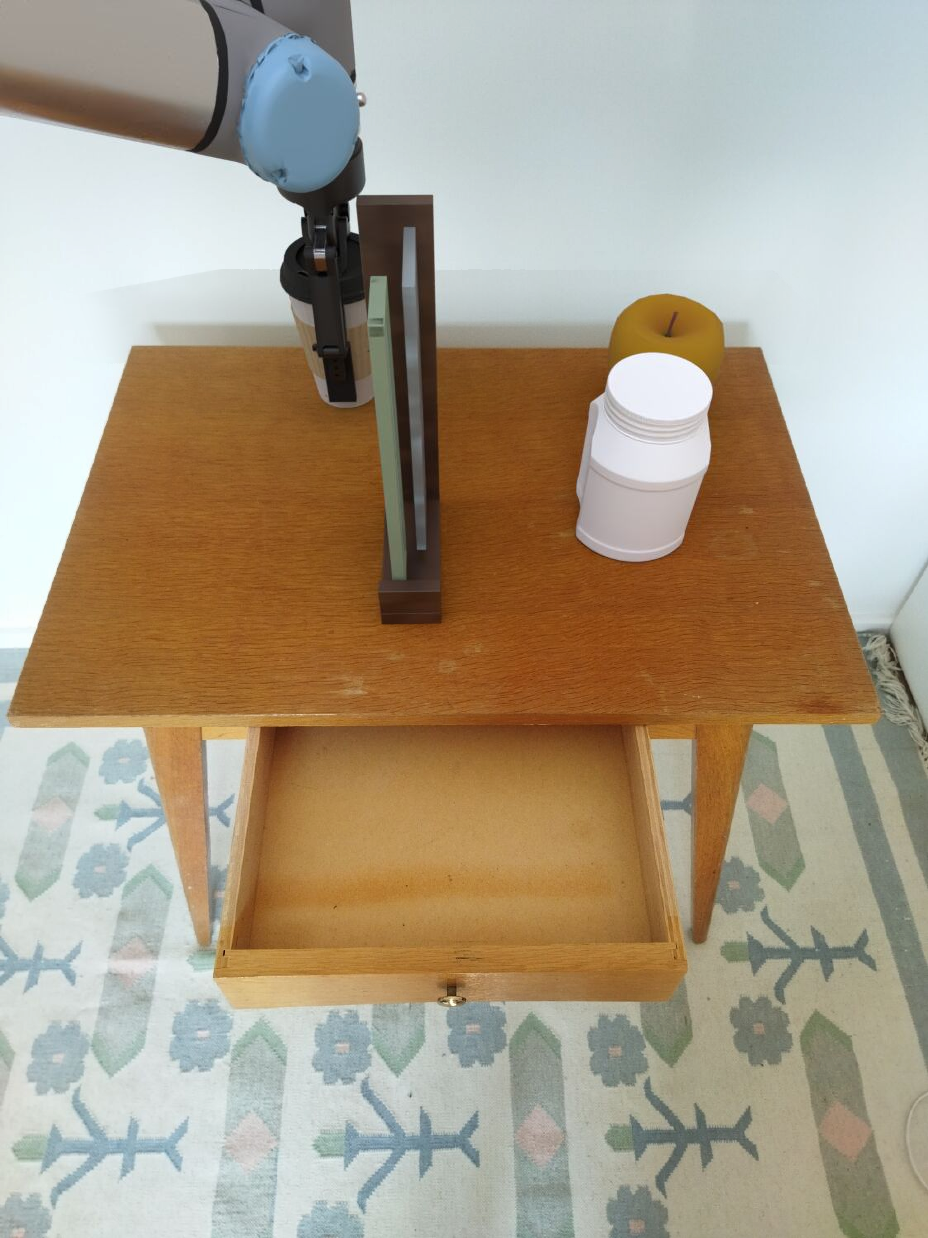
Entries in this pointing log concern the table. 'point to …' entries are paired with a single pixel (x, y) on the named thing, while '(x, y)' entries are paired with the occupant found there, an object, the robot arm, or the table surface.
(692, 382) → the jar
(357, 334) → the coffee cup
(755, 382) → the table surface
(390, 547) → the window sash
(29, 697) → the table surface
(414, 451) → the window frame
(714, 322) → the apple
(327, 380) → the robot arm
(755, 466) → the table surface
